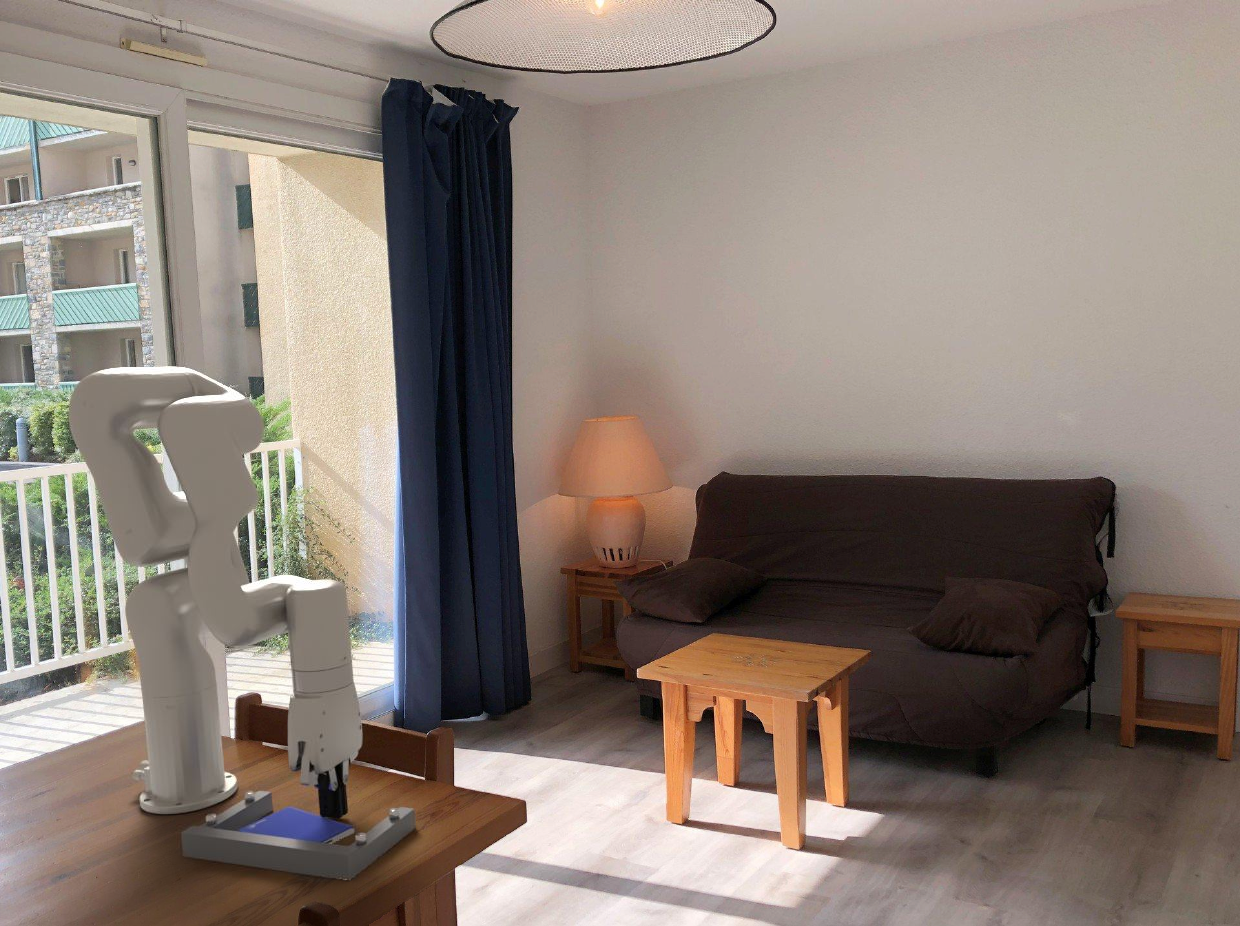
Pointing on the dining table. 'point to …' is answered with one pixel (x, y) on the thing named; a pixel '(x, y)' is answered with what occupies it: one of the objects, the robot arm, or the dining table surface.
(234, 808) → the drive tray
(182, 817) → the dining table surface
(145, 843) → the dining table surface
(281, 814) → the hard drive
